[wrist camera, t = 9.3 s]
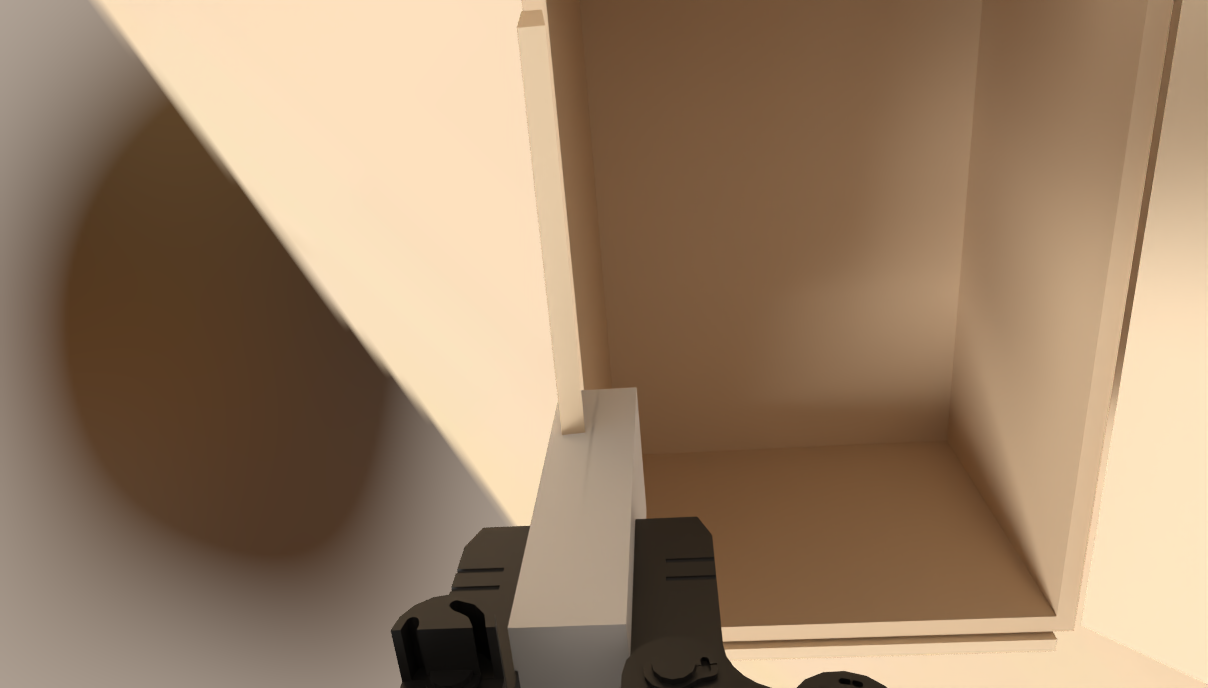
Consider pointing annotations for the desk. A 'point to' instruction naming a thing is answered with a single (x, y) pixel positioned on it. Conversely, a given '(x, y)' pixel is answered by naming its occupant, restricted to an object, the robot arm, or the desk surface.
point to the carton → (862, 294)
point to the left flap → (550, 216)
